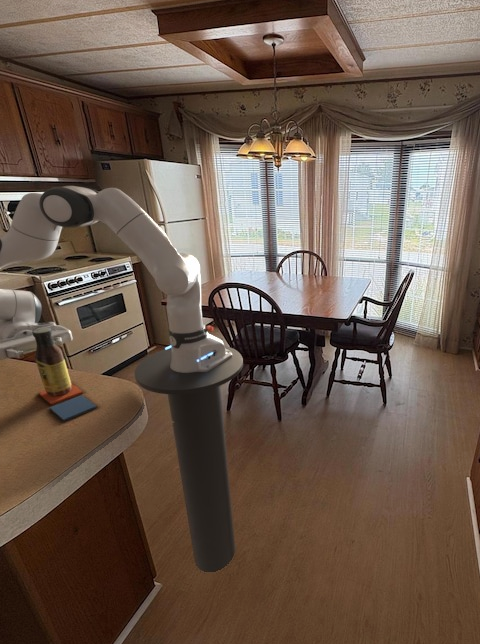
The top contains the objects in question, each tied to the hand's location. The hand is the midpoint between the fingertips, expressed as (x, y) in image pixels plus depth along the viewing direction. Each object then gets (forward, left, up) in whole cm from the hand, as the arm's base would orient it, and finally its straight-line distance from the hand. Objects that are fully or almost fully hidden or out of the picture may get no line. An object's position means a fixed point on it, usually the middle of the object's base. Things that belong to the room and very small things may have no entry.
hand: (40, 349), depth 99 cm
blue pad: (+1, +17, -13) cm, 21 cm away
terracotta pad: (0, +6, -13) cm, 14 cm away
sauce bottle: (0, +6, -12) cm, 13 cm away
